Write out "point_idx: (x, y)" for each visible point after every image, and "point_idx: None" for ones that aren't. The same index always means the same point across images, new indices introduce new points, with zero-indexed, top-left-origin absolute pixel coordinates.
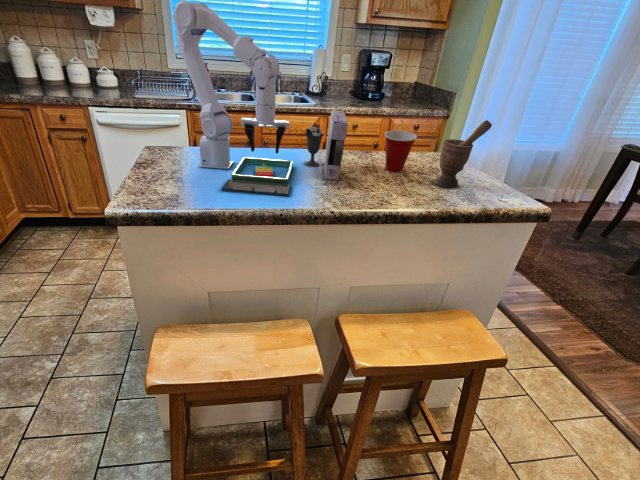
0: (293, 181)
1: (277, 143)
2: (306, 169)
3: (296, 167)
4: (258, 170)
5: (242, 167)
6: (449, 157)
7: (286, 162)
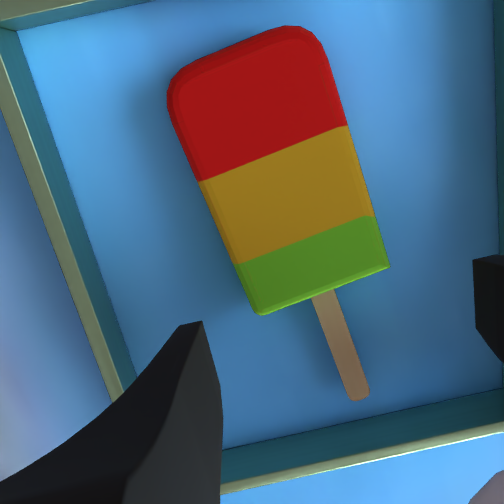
0: (3, 161)
1: (161, 378)
2: None
3: None
4: (334, 156)
5: None
6: None
7: None
